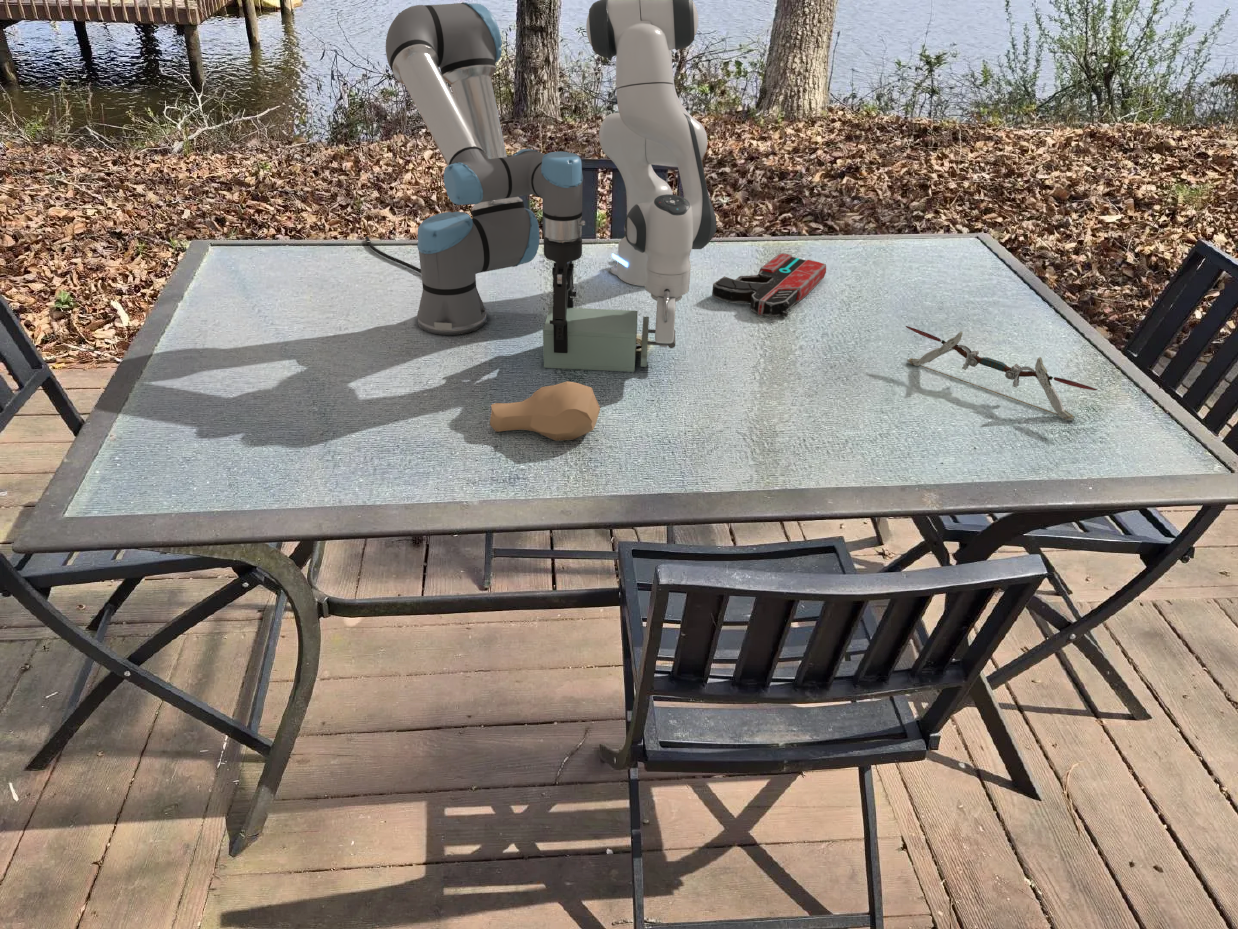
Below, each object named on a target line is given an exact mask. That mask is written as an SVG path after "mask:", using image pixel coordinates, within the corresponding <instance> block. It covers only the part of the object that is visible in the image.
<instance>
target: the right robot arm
mask: <svg viewBox="0 0 1238 929" xmlns="http://www.w3.org/2000/svg"><path fill="white" fill-rule="evenodd" d="M585 25H586V26H585V28H586V29H585V30H586V37H587V40H588V42H589V44H590V46H591V48H592V51H593V52H594V53H595V54H596V55H598V56H599V57H602V58H605V59H607V61H609V62H612V60H613V57H616V59H615V88H616V89H615V90H616V101H617V108H618V112H613V113H610V114H608V115H607V116H606V117H605V118H604V119H603V121H602V123H601V124H600V127H599V131H598V141H599V146H600V148H601V150H602V152H603V154H604V155H605V156H606V157H608V159H609V160H611V161H612V163H613V164H614V166H615V167H616V168H617V170H618V171H619V173H620V175H621V179H622V180H623V184H624V187H625V193H626V194H625V195H626V196H625V197H626V217H625V220H624V225H623V230H624V231H623V232H624V237H623V238H621V239H620V240H619V241H618V245H617V254H615V253H611V258H612V259H613V260H615V261H616V264H614V265H613V266H612V267H610V273H611V274H613V275H614V276H617V277H618V278H619V279H620V280H621V281H623V282H624V283H627V284H630V285H634V286H639V287H644V289H645V291H646V292H647V293H649V294H650V297H651V299H653V300H654V301H656V312H655V327H654V328H655V329H654V330H655V333H654V341H656V342H657V343H672V342H673V340H674V329H675V324H676V310H677V308H676V304H677V302H679V301H681V300H682V299H683V296H684V295H686V294H687V293H688V292H690V284H691V270H692V269H691V268H692V267H691V266H692V265H691V260H690V259H691V258H690V256H691V252H692V250H702V249H704V248H705V247H706V246H707V245H708V244H709V243H710V242H711V241H712V239H713V238H714V237H715V235H716V233H717V218H716V213H715V210H714V206H713V204H712V201H711V198H710V194H709V189H708V185H707V180H706V175H705V171H704V166H703V161H702V160H703V158H704V157H705V154H706V152H707V149H708V134H707V132H706V129H705V127H704V125H703V124H702V123H701V122H700V121H698V120H697V119H696V118H694V117H693V116H692V115H691V114H690V113H689V112H688V111H687V110H686V108H685V107H684V104H682V102H681V100H680V98H679V96H678V94H677V91H676V85H675V79H674V69H673V55H672V50H675V51H680V50H683V49H685V48H688V47H689V46H691V45H692V43H693V42H694V41H695V37H696V34H697V31H698V27H699V13H698V9H697V6H696V4H695V2H694V1H693V0H597V1H594V2H593V3H592V4H591V6H590V7H589V9H588V15H587V18H586V24H585ZM652 165H653V166H661V167H670V168H677V169H678V173H679V178H680V184H681V188H682V193H683V196H680V195H677V194H674V193H673V190H672V188H671V186H670V185H669V183H668V182H667V181H666V180H664V179H663V178H661V177H660V176H658V174H657V173H656V172H655V170H654V168H653V166H652ZM658 346H659V347H660V348H667V347H668V346H664V345H658Z"/></svg>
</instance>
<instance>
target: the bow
mask: <svg viewBox="0 0 1238 929" xmlns="http://www.w3.org/2000/svg"><path fill="white" fill-rule="evenodd" d="M905 328H907V329H909V330H910V331H912V332H914V333H916V334H918V335H920V336H923V337H925V338H927V339H930V340H932V341H936V342H939V343H941V344H942V346H940V347H936V348H934V349H932V350H930V351H928V352H926V353H925V354H924V355H923V356H921V357H920V358H913V357H909V358H908V359H907V363H908V364H910V365H912V366H916V367H918V366H920V367H922V368H925V369H927V370H930V371H933V372H935V373H938V374H941V375H945V376H947V377H950V378H952V379H955V380H958V381H960V382H964V383H967V384H970V385H973V386H975V387H978V388H981V389H983V390H986V391H988V392H992V393H995V394H997V395H1001V396H1003V397H1006V398H1008V399H1011V400H1014V401H1016V402H1020V403H1022V404H1026V405H1028V406H1031V407H1033V408H1037V409H1040V410H1042V411H1045V412H1048V413H1050V414H1053V415H1056V416H1059V417H1060V418H1062V419H1063V420H1067V421H1074V419H1076V416H1074V415H1073V414H1072V413H1070V412H1069V411H1067V410H1066V409H1065V408H1064V405H1063V402H1062V398H1061V397H1060V395H1059V394H1058V391H1057V390H1056V389H1055V387H1054V386H1053V385H1052V383H1051V381H1052V380H1054V381H1055V382H1058V383H1062V384H1064V385H1067V386H1070V387H1073V388H1074V387H1075V388H1079V389H1083V390H1091V391H1098V390H1099V389H1098V388H1095V387H1093V386H1089V385H1087V384H1083V383H1080V382H1077V381H1073V380H1069V379H1065V378H1062V377H1056V376H1052V375H1049V373H1048V370H1047V368H1046V366H1045V365H1044V362H1043V358H1042V357H1041V356H1039V357H1038V358H1037V359H1036V362H1035V366H1034V368H1032V367H1030V366H1021V365H1019V364H1018V363H1015V364H1013V366H1011V367H1010V366H1009V365H1008V364H1006V363H1005V362H1002V361H999V360H996V359H994V358H991V357H987V356H986V357H985V356H984V357H980V356H979V354H980V352H979V350H971V348H969V347H968V346H967V345H964V344H959V343H960V342H961V340H962V337H963V331H959V332H958V333H957V334H956V335H955V336H953V337H951V338H949V339H948V340H947V341H946V340H944V339H941V338H940V337H938V336H935V335H933V334H930V333H928V332H926V331H923V330H920V329H918V328H914V327H911V326H908V325H905ZM951 351H956V352H957V353H958V354H959V355H960V356H962V357H963V358H965V362H964V363H963V365H962V367H961V370H964V371H966V370H967V369H969V366H970V367H973V368H975V367H976V366H978V365H979V364H980V365H982V366H984V367H988V368H991V369H994V370H997V371H999V372H1002V373H1005V374H1004V376H1005V378H1006V379H1008V380H1013V381H1012V387H1013V388H1018V387H1019V386H1020V378H1028V377H1035V379H1036V380H1037V381H1038V383H1039V384H1040V386H1041V388H1042V390H1043V391H1044V393H1045V396H1046V398H1047V399H1048V401H1049V403H1050V406H1051V407H1052V409H1053V410H1054V411H1055V412H1053V411H1050V410H1048V409H1045V408H1042V407H1040V406H1036V405H1034V404H1031V403H1028V402H1025V401H1024V400H1023V401H1022V400H1019V399H1017V398H1014V397H1011V396H1008V395H1006V394H1003V393H1000V392H997V391H994V390H991V389H989V388H986V387H983V386H981V385H978V384H975V383H972V382H969V381H966V380H964V379H961V378H957V377H955V376H952V375H949V374H947V373H945V372H941V371H938V370H936V369H932V368H929V367H926V366H924V365H925V364H927V363H931V362H933V361H934V360H935V359H938V358H939V357H940V356H943V355H944V354H946V353H949V352H951Z"/></svg>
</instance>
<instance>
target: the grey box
mask: <svg viewBox="0 0 1238 929" xmlns="http://www.w3.org/2000/svg"><path fill="white" fill-rule="evenodd" d="M638 312H639V311H638V310H628V309H627V310H626V309H606V308H605V309H604V308H585V307H583V308H582V307H573V308H567V318H566V320H567V335H568V352H567V353H554V327H553V324H550V320H553V306H549V308H548V311H547V314H546V318H545V320H544V325H543V328H542V348H543V350H542V351H543V368H544V369H567V370H587V371H608V372H627V373H634V372H635V370H636V366H635V365H636V357H637V356H636V355H637V340H638V337H637V335H638V315H639V313H638Z"/></svg>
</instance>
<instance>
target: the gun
mask: <svg viewBox="0 0 1238 929" xmlns="http://www.w3.org/2000/svg"><path fill="white" fill-rule="evenodd" d="M826 273H827V264H826V263H823V262H820V261H816V260H812V259H802V258H799V257H795V256H793V255H792V254H791V253H784V252H780V253H778V254H777V255H775V256H774V257H773V258H771V259H770V260H768V261H767V262H766V263H765V264H763V265H762V266H761V267H760V269H759V271H758V273H757V274H756V275H753V274H752V275H751V274H750V275H740V276H738V277H737V278H735V279H734V278H731V277H727V276H722V277H720V279H717V281H715V282H713V283H712V291H711V297H713V298H714V299H716V300H719V301H723V302H727V303H730V304H750V305H749V308H750V310H751V312H753V313H755V314H757V315H758V316H760V317H761V316H765V317H770V318H771V317H777V316H780V317H784V318H787V317H788V315H789V311H788V310H790V309H791V308H792V307H793V306H794V305H795V304H798V303H799V302H801V301H802V300H803V299H804V298H805V297H807V296H808V295H809V294H810V293H811V292H812V291H813V290H814V289H815V287H817V285H818V284H820V283H821V282H822V280H823V279H824V278H825V276H826Z"/></svg>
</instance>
